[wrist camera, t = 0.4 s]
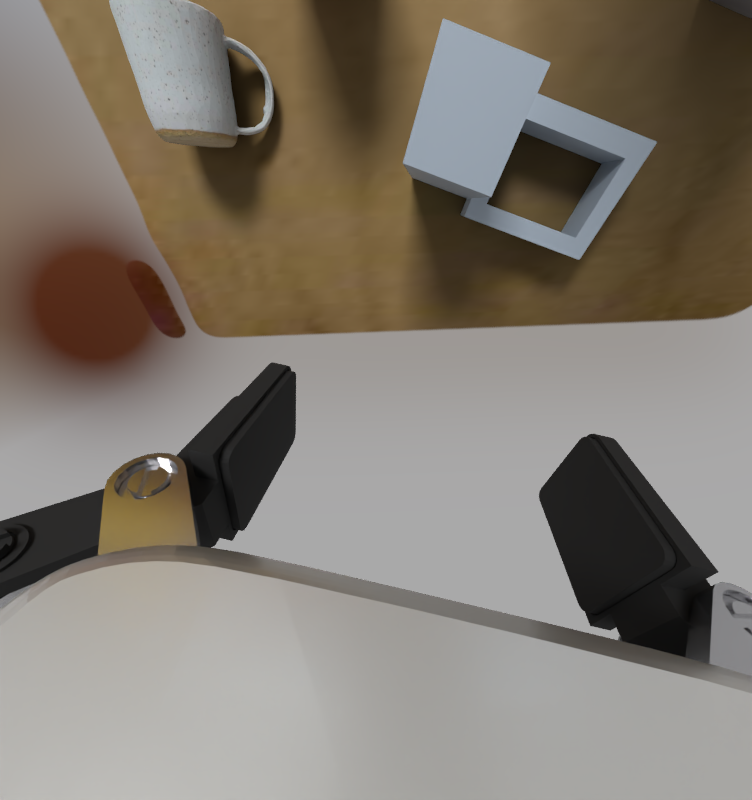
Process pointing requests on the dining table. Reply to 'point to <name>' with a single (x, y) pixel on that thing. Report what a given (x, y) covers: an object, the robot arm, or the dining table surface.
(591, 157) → the blue stepped tray
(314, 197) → the dining table surface
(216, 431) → the robot arm
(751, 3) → the wooden rectangular block
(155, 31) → the ceramic mug
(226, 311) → the dining table surface
